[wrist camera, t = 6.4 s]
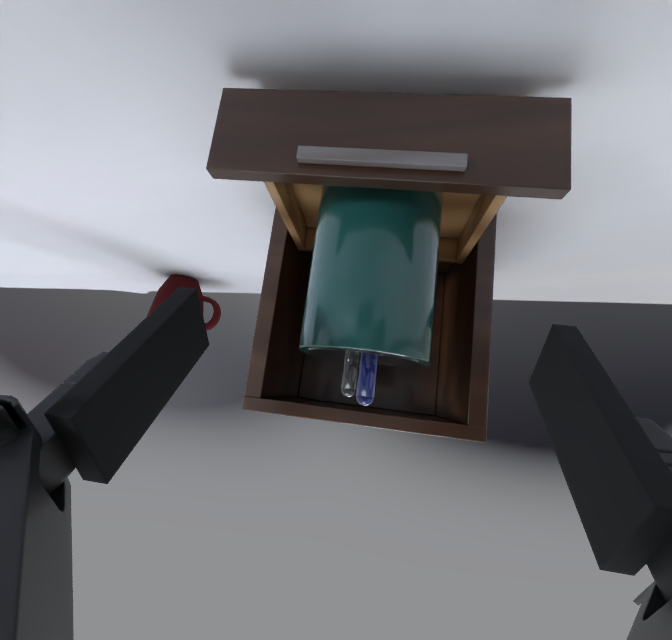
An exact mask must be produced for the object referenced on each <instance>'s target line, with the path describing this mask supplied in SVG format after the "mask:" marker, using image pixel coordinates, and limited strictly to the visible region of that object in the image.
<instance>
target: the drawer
mask: <svg viewBox="0 0 672 640" xmlns="http://www.w3.org/2000/svg"><path fill="white" fill-rule="evenodd" d="M206 169H207V170H208V172H209V173H210V175H211V176H212V177H213V178H214V179H230V180H246V181H263V182H264V183H265V185H266V187H267V189H268V191H269V193H270V195H271V197H272V199H273V201H274V203H275V205H276V207H277V209H278V211H279V213H280V215H281V217H282V219H283V221H284V223H285V225H286V227H287V229H288V230H289V232H290V234H291V236H292V238H293V240H294V242H295V244H296V246H297V248H298V250H302V251H305V250H306V251H313V245H314V238H315V231H316V224H317V217H318V210H319V203H320V196H321V189H322V185H330V186H347V187H363V188H380V189H397V190H413V191H430V192H444V195H443V208H442V222H441V235H440V248H439V261H438V262H449V263H461V264H462V263H463V262H464V261H465V259H466V258H467V256H468V255H469V253H470V252H471V250H472V249H473V247H474V246H475V244H476V243H477V241H478V240H479V238H480V237H481V235H482V234H483V232H484V231H485V229H486V228H487V226H488V225H489V223H490V221H491V220H492V218H493V217H494V215H495V214H496V212H497V211H498V209H499V208H500V206H501V205H502V203H503V202H504V200H505V199H506V197H507V196H514V197H530V198H547V199H562V198H563V197H564V196H565V195H566V194H567V193H568V192H569V191H570V190H571V98H552V97H518V96H483V95H449V94H415V93H380V92H346V91H311V90H277V89H243V88H223V91H222V96H221V101H220V106H219V110H218V115H217V120H216V125H215V129H214V134H213V139H212V144H211V148H210V153H209V158H208V162H207V167H206Z"/></svg>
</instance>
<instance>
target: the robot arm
mask: <svg viewBox="0 0 672 640" xmlns="http://www.w3.org/2000/svg"><path fill="white" fill-rule="evenodd" d="M208 346H209V341H208V337H207V332H206V328H205V323H204V318H203V314H202V309H201V304H200V300H199V295H198V290H197V289H193V288H183V287H178V288H177V289H176V290H175V291H174V292H173V293H172V294H171V295H170V296H169V297H168V298H167V299H166V300H165V301H164V302H162V303H161V304H160V305H159V306H158V307H157V308H156V309H155V310H154V311H153V312H152V313H151V314H150V315H149V316H148V317H146V318H145V319H144V320H143V321H142V322H141V323H140V324H139V325H138V326H137V327H136V328H135V329H134V330H133V331H132V332H130V334H128V335H127V336H126V337H125V338H124V339H123V340H122V341H121V342H120V343H119V344H118V345H117V346H115V347H114V348H113V349H112V350H111V351H110V352H102V353H100V354H98V355H97V356H95V357H93V358H91V359H89V360H87V361H86V362H85V363H84V364H83V365H82V366H80V367H79V368H78V369H77V370H76V371H75V372H74V374H72V375H70V377H68V378H67V379H66V380H65V381H64V384H60V385H59V386H58V387H57V388H56V389H55V390H54V391H53V392H52V393H50V394H49V395H48V396H47V397H46V398H45V399H44V400H43V401H42V402H40V403H39V404H38V405H37V406H36V407H35V408H34V409H33V410H32V411H30V412H29V413H28V414H27V413H26V412H25V410H24V409H23V407H22V406H21V404H20V402H19V401H18V399H16V398H15V397H13V396H5V395H0V640H73V590H72V589H73V588H72V530H71V485H70V482H69V479H68V478H67V477H68V476H69V475H70V474H71V472H72V471H73V470H74V469H75V468H76V469H77V470H78V472H79V474H80V475H81V477H82V479H83V480H87V481H93V482H98V483H104V484H108V483H109V481H110V480H111V479H112V477H113V476H114V474H115V473H116V472H117V470H118V469H119V468H120V466H121V465H122V463H123V462H124V461H125V459H126V458H127V457H128V455H129V454H130V452H131V451H132V450H133V448H134V447H135V446H136V444H137V443H138V442H139V440H140V439H141V437H142V436H143V435H144V433H145V432H146V431H147V429H148V428H149V427H150V425H151V424H152V422H153V421H154V420H155V418H156V417H157V416H158V414H159V413H160V412H161V410H162V409H163V407H164V406H165V405H166V403H167V402H168V401H169V399H170V398H171V397H172V395H173V394H174V392H175V391H176V390H177V388H178V387H179V386H180V384H181V383H182V381H183V380H184V379H185V377H186V376H187V375H188V373H189V372H190V371H191V369H192V368H193V366H194V365H195V364H196V362H197V361H198V360H199V358H200V357H201V355H202V354H203V353H204V351H205V350H206V348H207V347H208ZM529 385H530V388H531V390H532V393H533V395H534V398H535V401H536V403H537V405H538V409H539V411H540V414H541V416H542V419H543V422H544V424H545V427H546V430H547V432H548V435H549V437H550V440H551V443H552V445H553V447H554V451H555V453H556V456H557V458H558V461H559V464H560V466H561V469H562V472H563V474H564V477H565V479H566V482H567V485H568V487H569V490H570V493H571V495H572V497H573V500H574V503H575V506H576V508H577V511H578V513H579V516H580V518H581V521H582V524H583V526H584V529H585V532H586V534H587V537H588V540H589V542H590V545H591V547H592V550H593V553H594V555H595V558H596V561H597V563H598V566H599V569H600V570H605V571H610V572H616V573H622V574H628V575H635V574H636V573H637V572H638V571H639V570H640V569H641V568H642V567H643V566H644V565H645V564H646V563H647V565H648V568H649V570H650V571H651V574H652V576H653V578H654V580H655V581H654V582H653V583H652V584H651V585H650V586H648V587H647V588H646V589H645V590H644V591H643V592H642V593H641V594H640V595H639V596H638V597H637V598H636V599H635V600H634V602H635V603H636V604H638V605H639V604H641V603H642V604H641V606H640V609H639V611H638V614H637V616H636V618H635V621H634V623H633V626H632V628H631V631H630V633H629V636H628V638H627V640H672V438H671V437H670V435H669V434H667V433H666V432H665V431H664V430H663V429H662V428H660V427H659V426H658V425H657V424H656V423H654V422H653V421H652V420H651V419H643V418H635V416H634V415H633V413H632V411H631V410H630V409H629V407H628V405H627V404H626V402H625V401H624V399H623V398H622V396H621V395H620V393H619V392H618V390H617V388H616V387H615V385H614V384H613V382H612V381H611V379H610V378H609V376H608V375H607V373H606V372H605V370H604V369H603V367H602V366H601V364H600V362H599V361H598V359H597V358H596V356H595V355H594V353H593V352H592V350H591V349H590V347H589V346H588V344H587V342H586V341H585V339H584V338H583V336H582V335H581V333H580V332H579V330H578V329H577V327H575V326H566V325H556V324H553V325H552V327H551V329H550V332H549V334H548V337H547V339H546V342H545V344H544V347H543V349H542V352H541V354H540V356H539V359H538V361H537V364H536V366H535V369H534V371H533V374H532V376H531V378H530V381H529Z"/></svg>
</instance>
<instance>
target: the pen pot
mask: <svg viewBox="0 0 672 640" xmlns="http://www.w3.org/2000/svg"><path fill="white" fill-rule="evenodd" d="M443 195H444V192H430V191H413V190H397V189H380V188H363V187H347V186H330V185H322V189H321V196H320V203H319V210H318V217H317V224H316V231H315V238H314V245H313V252H312V259H311V266H310V273H309V279H308V286H307V293H306V300H305V307H304V314H303V321H302V328H301V335H300V342H299V349H300V350H301V351H303V352H306V353H309V354H313V355H317V356H321V357H326V358H331V359H337V360H343V361H344V364H343V372H342V380H341V392H342V394H343V395H344V396H347V397H351V396H353V395H354V394H355V393H356V399H357V401H358V403H359V404H361V405H364V406H366V405H370V404H371V403H372V402H373V400H374V396H375V386H376V377H377V367H378V365H385V366H403V367H420V366H427V365H430V363H431V352H432V339H433V326H434V313H435V300H436V287H437V274H438V261H439V248H440V235H441V222H442V208H443ZM359 363H360V364H359ZM357 380H358V381H357ZM356 389H357V390H356Z"/></svg>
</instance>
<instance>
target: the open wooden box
mask: <svg viewBox="0 0 672 640" xmlns="http://www.w3.org/2000/svg"><path fill="white" fill-rule="evenodd" d="M496 217H497V212H496V214H495V215H494V217H493V218H492V220H491V221H490V223H489V225H488V226H487V228H486V229H485V231H484V232H483V234H482V235H481V237H480V238H479V240H478V241H477V243H476V244H475V246H474V247H473V249H472V250H471V252H470V253H469V255H468V256H467V258H466V259H465V261H464V262H463V263H462V264H461V263H449V262H438V274H437V287H436V300H435V313H434V326H433V339H432V352H431V363H430V365H427V366H420V367H403V366H385V365H378V367H377V377H376V386H375V396H374V400H373V402H372V403H371V404H370V405H366V406H364V405H361V404H359V403H358V401H357V399H356V393H355V394H354V395H353V396H351V397H347V396H344V395H343V394H342V392H341V380H342V372H343V364H344V361H343V360H337V359H331V358H326V357H321V356H317V355H313V354H309V353H306V352H303V351H301V350H300V349H299V342H300V335H301V328H302V321H303V314H304V307H305V300H306V293H307V286H308V279H309V273H310V266H311V259H312V252H313V251H306V250H305V251H302V250H298V248H297V246H296V244H295V242H294V240H293V238H292V236H291V234H290V232H289V230H288V229H287V227H286V225H285V223H284V221H283V219H282V217H281V215H280V213H279V211H278V209H277V207H276V209H275V215H274V220H273V226H272V232H271V238H270V244H269V250H268V256H267V262H266V268H265V274H264V280H263V286H262V292H261V298H260V304H259V310H258V316H257V322H256V328H255V333H254V340H253V345H252V351H251V357H250V363H249V369H248V375H247V382H246V388H245V393H244V399H243V405H242V409H243V410H250V411H258V412H265V413H272V414H279V415H286V416H294V417H301V418H308V419H316V420H323V421H330V422H338V423H345V424H352V425H359V426H367V427H374V428H382V429H389V430H396V431H403V432H411V433H418V434H426V435H433V436H440V437H448V438H456V439H462V440H469V441H477V442H484V443H486V434H487V428H486V427H487V410H488V389H489V367H490V346H491V323H492V302H493V281H494V260H495V238H496ZM359 364H360V363H359ZM357 381H358V380H357ZM356 390H357V389H356Z"/></svg>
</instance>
